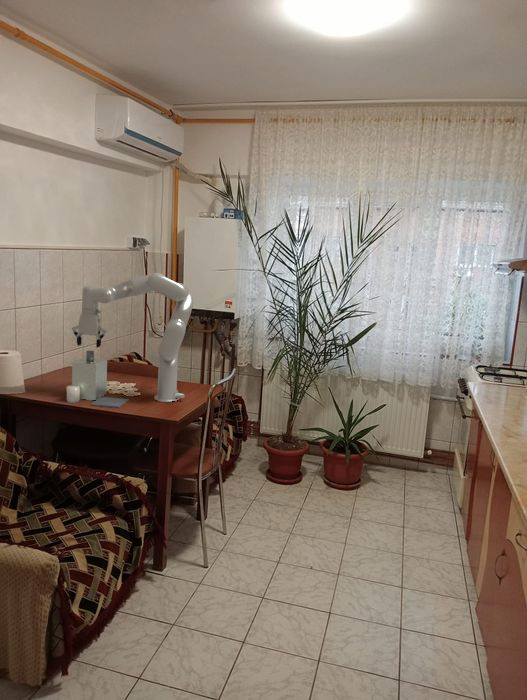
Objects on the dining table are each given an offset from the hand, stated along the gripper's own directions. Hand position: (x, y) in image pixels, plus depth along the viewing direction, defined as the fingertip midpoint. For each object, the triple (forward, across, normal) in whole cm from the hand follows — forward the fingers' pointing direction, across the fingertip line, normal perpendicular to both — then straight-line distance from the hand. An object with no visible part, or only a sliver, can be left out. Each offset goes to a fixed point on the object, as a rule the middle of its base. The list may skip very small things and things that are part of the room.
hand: (88, 346), depth 267 cm
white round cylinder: (+26, +3, +9) cm, 28 cm away
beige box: (+26, -1, -1) cm, 26 cm away
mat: (+26, -15, +8) cm, 31 cm away
